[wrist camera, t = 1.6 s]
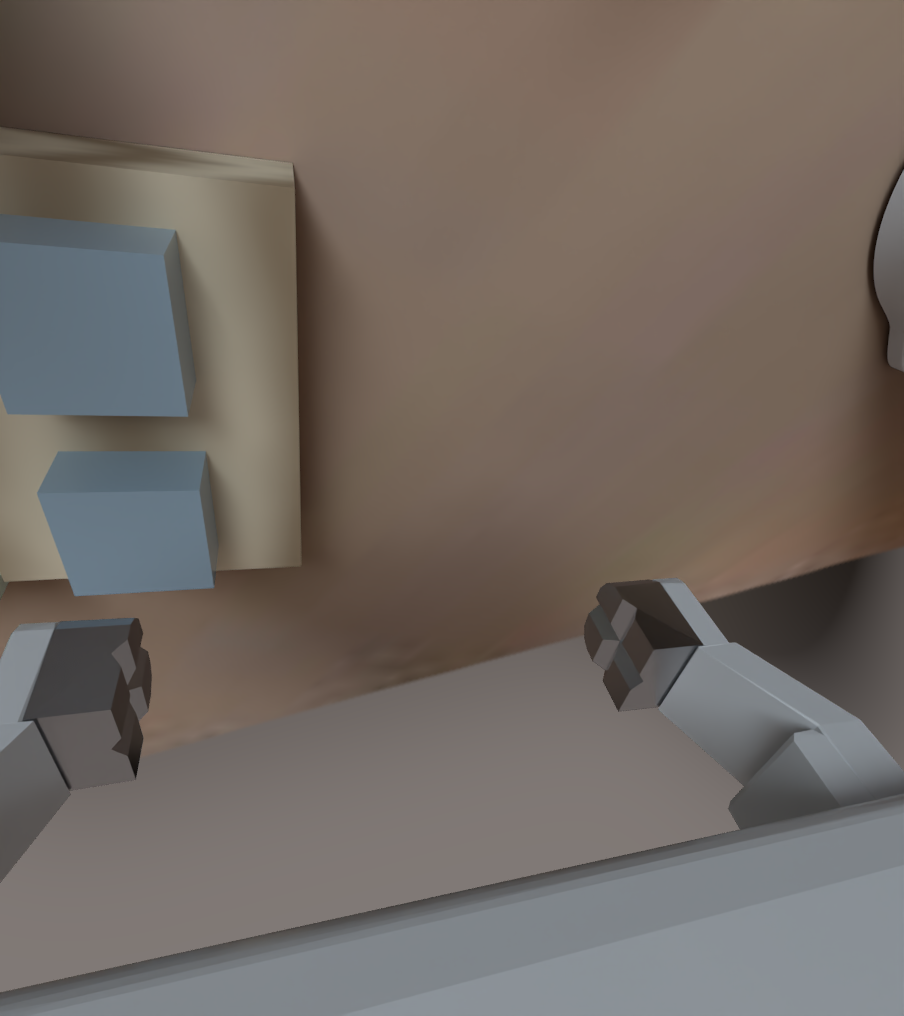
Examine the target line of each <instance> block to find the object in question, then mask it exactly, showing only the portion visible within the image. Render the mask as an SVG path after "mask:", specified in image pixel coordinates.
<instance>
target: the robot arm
mask: <svg viewBox="0 0 904 1016" xmlns="http://www.w3.org/2000/svg"><path fill="white" fill-rule="evenodd" d="M874 283H875V289H876V293H877V297H878V299H879V302H880V304H881V306H882V308H883V310H884V312H885V314H886V316H887V318H888V321H889V325H890V332H889V340H888V351H887V358H888V363H889V365H890V366H891V367H893V368H895V369H897V370H900V371H902V372H904V170H903V172H902V174H901V176H900V178H899V180H898V182H897V184H896V186H895V188H894V191H893V193H892V195H891V198H890V200H889V203H888V205H887V208H886V211H885V213H884V216H883V220H882V223H881V226H880V230H879V234H878V238H877V243H876V248H875V256H874ZM596 598H597V600H598V602H599V604H600V605H598V606H597V607H596V608H595V609H594V610H592V611H591V612H590V613H589V614H588V617H587V620H586V622H585V625H584V639H585V643H586V647H587V650H588V652H589V654H590V656H591V659H592V661H593V662H595V663H596V664H597V665H599V666H600V667H601V668H603V669H604V670H605V673H604V678H603V682H604V684H605V686H606V688H607V690H608V692H609V694H610V696H611V698H612V700H613V702H614V704H615V706H616V708H617V710H618V711H627V710H637V709H646V708H655V707H659V708H658V710H659V711H660V712H661V713H662V714H664V715H665V716H666V717H667V718H668V719H669V720H670V721H671V722H673V723H674V724H675V725H676V726H677V727H678V728H680V729H681V730H682V731H683V732H684V733H685V734H686V735H687V736H688V737H690V738H691V739H692V740H693V741H694V742H695V743H696V744H697V745H699V746H700V747H701V748H702V749H703V750H704V751H705V752H706V753H707V754H709V755H710V756H711V757H712V758H713V759H714V760H715V761H716V762H718V763H719V764H720V765H721V766H722V767H723V768H724V769H725V770H727V771H728V772H729V773H730V774H731V775H732V776H733V777H735V778H736V779H737V780H738V781H739V782H740V783H741V784H742V785H743V786H744V787H743V788H742V789H741V790H740V791H739V793H738V794H737V795H736V796H735V797H734V798H733V799H732V800H731V801H730V805H729V808H728V809H729V811H730V813H731V815H732V816H733V818H734V820H735V822H736V823H737V825H738V827H739V829H740V830H736V831H731V832H727V833H722V834H718V835H713V836H709V837H704V838H700V839H695V840H690V841H686V842H681V843H677V844H672V845H668V846H663V847H659V848H654V849H650V850H645V851H641V852H636V853H632V854H627V855H622V856H618V857H613V858H609V859H605V860H600V861H595V862H590V863H586V864H582V865H577V866H572V867H568V868H563V869H559V870H554V871H550V872H545V873H540V874H536V875H531V876H527V877H522V878H518V879H514V880H509V881H504V882H500V883H495V884H491V885H486V886H481V887H477V888H472V889H468V890H463V891H459V892H455V893H450V894H445V895H440V896H436V897H431V898H427V899H423V900H418V901H413V902H409V903H404V904H400V905H395V906H390V907H386V908H381V909H377V910H372V911H368V912H364V913H359V914H354V915H350V916H345V917H341V918H336V919H332V920H327V921H322V922H318V923H313V924H309V925H305V926H300V927H295V928H291V929H286V930H282V931H277V932H272V933H268V934H264V935H259V936H254V937H250V938H246V939H241V940H236V941H232V942H228V943H223V944H218V945H213V946H209V947H204V948H200V949H195V950H191V951H186V952H182V953H177V954H173V955H169V956H164V957H160V958H154V959H150V960H145V961H141V962H136V963H132V964H127V965H123V966H118V967H114V968H109V969H105V970H100V971H95V972H91V973H86V974H82V975H77V976H73V977H68V978H64V979H59V980H55V981H50V982H46V983H41V984H36V985H32V986H27V987H23V988H18V989H14V990H9V991H5V992H0V1016H904V771H903V770H902V768H901V767H900V766H899V765H898V764H897V763H896V761H895V760H894V759H893V758H892V757H891V755H890V754H889V753H888V752H887V751H886V749H885V748H884V747H883V746H882V745H881V744H880V742H879V741H878V740H877V739H876V738H875V736H874V735H873V734H872V733H871V732H870V730H869V729H867V727H866V726H865V725H864V724H863V722H862V721H861V720H860V719H858V718H857V717H855V716H853V715H852V714H850V713H848V712H847V711H845V710H844V709H842V708H841V707H839V706H837V705H836V704H834V703H832V702H831V701H829V700H828V699H826V698H824V697H823V696H821V695H820V694H818V693H816V692H815V691H813V690H811V689H810V688H808V687H806V686H805V685H803V684H801V683H800V682H799V681H797V680H795V679H794V678H792V677H790V676H789V675H787V674H786V673H784V672H782V671H781V670H779V669H778V668H776V667H774V666H773V665H771V664H770V663H768V662H766V661H765V660H763V659H761V658H760V657H758V656H757V655H755V654H753V653H752V652H750V651H749V650H747V649H745V648H744V647H742V646H741V645H739V644H737V643H729V642H728V641H727V640H726V638H725V637H724V636H723V634H722V633H721V632H720V631H719V629H718V628H717V626H716V625H715V624H714V622H713V621H712V620H711V618H710V617H709V616H708V614H707V613H706V611H705V610H704V609H703V607H702V606H701V605H700V603H699V602H698V601H697V599H696V598H695V597H694V595H693V594H692V593H691V591H690V590H689V589H688V587H687V586H686V585H685V583H684V582H683V581H681V580H679V579H678V578H668V579H654V580H638V581H627V582H615V583H606V584H605V585H603V586H602V587H601V588H600V590H599V592H598V594H597V596H596ZM142 636H143V631H142V628H141V625H140V621H139V619H138V618H122V619H102V620H81V621H61V622H49V623H32V624H20V625H19V626H18V627H17V628H16V629H15V631H14V632H13V633H12V634H11V636H10V638H9V640H8V643H7V645H6V648H5V650H4V652H3V655H2V657H1V659H0V883H1V882H2V880H3V879H4V878H5V876H6V875H7V874H8V873H9V871H10V870H11V869H12V868H13V866H14V865H15V864H16V863H17V861H18V860H19V859H20V858H21V856H22V855H23V854H24V853H25V851H26V850H27V849H28V848H29V846H30V845H31V844H32V843H33V841H34V840H35V839H36V837H37V836H38V835H39V834H40V832H41V831H42V830H43V829H44V827H45V826H46V825H47V824H48V822H49V821H50V820H51V819H52V817H53V816H54V815H55V814H56V812H57V811H58V810H59V809H60V807H61V806H62V805H63V804H64V802H65V801H66V800H67V798H68V797H69V796H70V791H72V790H78V789H83V788H90V787H96V786H102V785H108V784H114V783H120V782H126V781H132V780H136V776H137V771H138V765H139V760H140V754H141V749H142V744H143V735H142V731H141V728H140V724H139V720H140V719H141V718H142V717H143V716H144V715H145V714H146V713H147V712H148V709H149V703H150V697H151V681H152V673H151V663H150V658H149V654H148V651H146V650H145V649H143V648H141V647H140V646H141V641H142Z"/></svg>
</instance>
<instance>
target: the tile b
mask: <svg viewBox="0 0 904 1016" xmlns="http://www.w3.org/2000/svg"><path fill="white" fill-rule="evenodd" d="M37 495H38V498H39V501H40V503H41V506H42V509H43V512H44V514H45V517H46V520H47V522H48V525H49V528H50V531H51V533H52V536H53V539H54V541H55V544H56V547H57V549H58V552H59V555H60V558H61V560H62V563H63V566H64V568H65V571H66V574H67V576H68V579H69V582H70V585H71V587H72V590H73V593H74V595H75V596H87V595H104V594H121V593H138V592H154V591H171V590H188V589H205V588H214V585H215V576H216V567H217V559H218V550H219V543H218V536H217V529H216V521H215V514H214V507H213V499H212V492H211V485H210V477H209V470H208V463H207V455H206V451H58V453H57V454H56V456H55V458H54V460H53V462H52V464H51V466H50V468H49V470H48V472H47V474H46V476H45V478H44V480H43V482H42V484H41V486H40V488H39V490H38V492H37Z"/></svg>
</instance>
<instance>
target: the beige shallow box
mask: <svg viewBox="0 0 904 1016" xmlns="http://www.w3.org/2000/svg"><path fill="white" fill-rule="evenodd" d="M0 214H8V215H19V216H30V217H41V218H52V219H63V220H74V221H85V222H96V223H107V224H118V225H129V226H140V227H151V228H162V229H173V230H176V235H177V242H178V250H179V257H180V264H181V272H182V279H183V286H184V294H185V301H186V308H187V316H188V323H189V330H190V338H191V345H192V352H193V360H194V367H195V374H196V384H195V389H194V393H193V397H192V402H191V406H190V411H189V415H188V417H172V416H96V415H21V414H7V412H6V409H5V406H4V403H3V401H2V398H1V395H0V574H1V576H2V578H3V580H4V582H10V581H30V580H49V579H68V576H67V574H66V571H65V568H64V566H63V563H62V560H61V558H60V555H59V552H58V549H57V547H56V544H55V541H54V539H53V536H52V533H51V531H50V528H49V525H48V522H47V520H46V517H45V514H44V512H43V509H42V506H41V503H40V501H39V498H38V495H37V492H38V490H39V488H40V486H41V484H42V482H43V480H44V478H45V476H46V474H47V472H48V470H49V468H50V466H51V464H52V462H53V460H54V458H55V456H56V454H57V453H58V451H206V455H207V463H208V470H209V477H210V485H211V492H212V499H213V507H214V514H215V521H216V529H217V536H218V543H219V550H218V559H217V567H216V571H222V570H241V569H260V568H280V567H299V566H302V562H301V506H300V450H299V394H298V337H297V281H296V225H295V184H294V173H293V163H287V162H279V161H271V160H263V159H255V158H247V157H239V156H231V155H223V154H215V153H207V152H199V151H191V150H183V149H175V148H167V147H159V146H151V145H143V144H135V143H127V142H119V141H111V140H103V139H95V138H87V137H79V136H71V135H63V134H55V133H47V132H39V131H31V130H23V129H15V128H7V127H0Z"/></svg>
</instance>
